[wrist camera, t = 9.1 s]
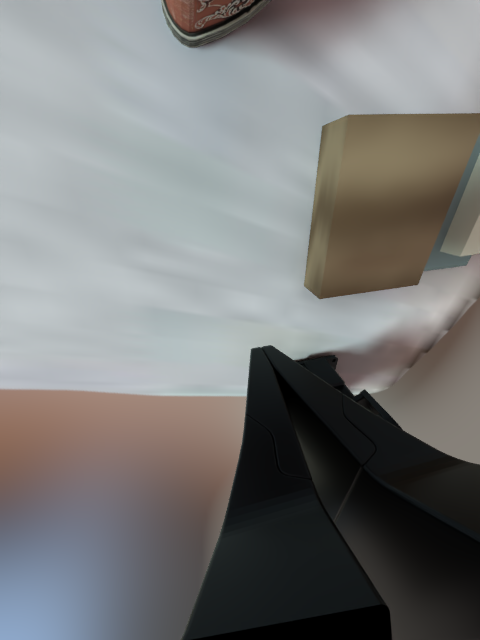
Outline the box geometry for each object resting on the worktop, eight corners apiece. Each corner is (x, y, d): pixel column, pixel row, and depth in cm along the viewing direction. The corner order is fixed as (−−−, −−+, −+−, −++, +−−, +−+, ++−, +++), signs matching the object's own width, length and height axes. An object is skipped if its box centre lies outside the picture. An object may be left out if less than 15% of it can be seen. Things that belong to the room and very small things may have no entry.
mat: (463, 264, 25) (466, 265, 24) (392, 274, 23) (395, 274, 23) (534, 122, 18) (539, 121, 18) (443, 123, 17) (446, 123, 17)
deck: (392, 274, 23) (417, 284, 21) (304, 285, 22) (319, 299, 19) (443, 123, 17) (487, 113, 14) (322, 126, 15) (348, 114, 13)
